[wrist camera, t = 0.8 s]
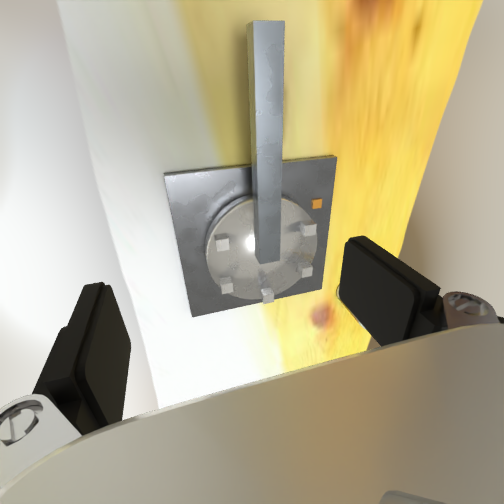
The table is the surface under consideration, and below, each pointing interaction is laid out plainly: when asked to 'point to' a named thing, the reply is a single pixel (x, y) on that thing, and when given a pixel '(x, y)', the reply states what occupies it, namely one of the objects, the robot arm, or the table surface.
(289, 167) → the plate
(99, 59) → the table surface
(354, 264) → the robot arm
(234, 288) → the grey disc with handle
